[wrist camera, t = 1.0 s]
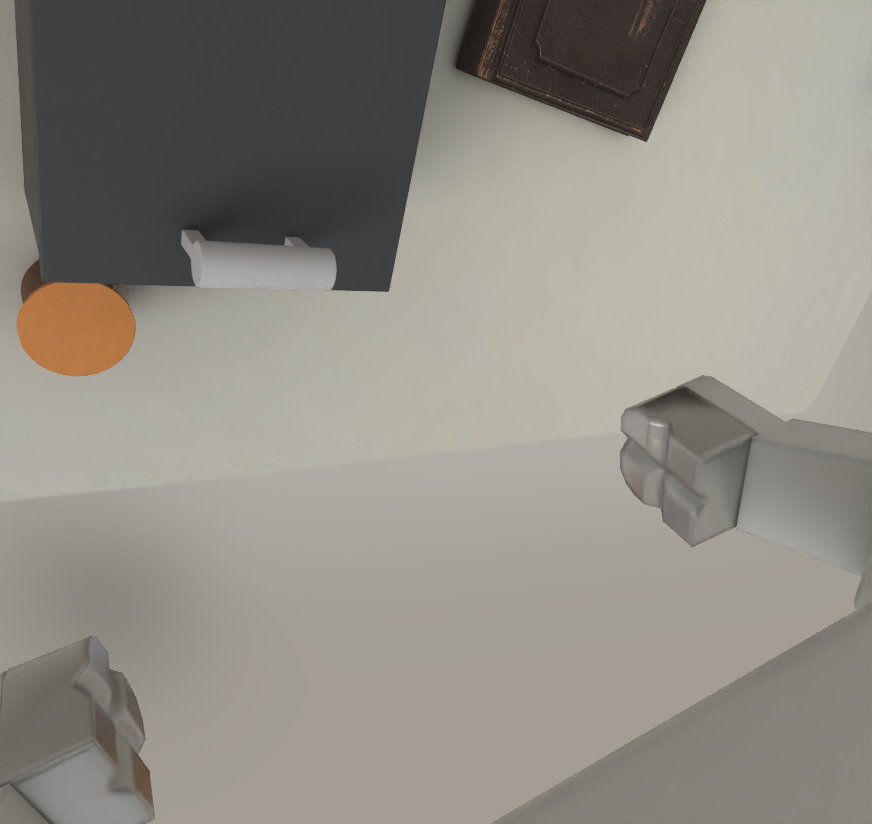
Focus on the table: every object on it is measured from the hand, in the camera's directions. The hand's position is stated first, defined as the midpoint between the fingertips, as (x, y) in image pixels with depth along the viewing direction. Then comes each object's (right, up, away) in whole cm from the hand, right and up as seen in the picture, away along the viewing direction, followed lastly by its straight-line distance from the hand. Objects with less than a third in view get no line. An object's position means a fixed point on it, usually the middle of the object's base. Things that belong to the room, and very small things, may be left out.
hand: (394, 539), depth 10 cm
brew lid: (-7, +14, +19) cm, 25 cm away
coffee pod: (-19, +8, +28) cm, 35 cm away
